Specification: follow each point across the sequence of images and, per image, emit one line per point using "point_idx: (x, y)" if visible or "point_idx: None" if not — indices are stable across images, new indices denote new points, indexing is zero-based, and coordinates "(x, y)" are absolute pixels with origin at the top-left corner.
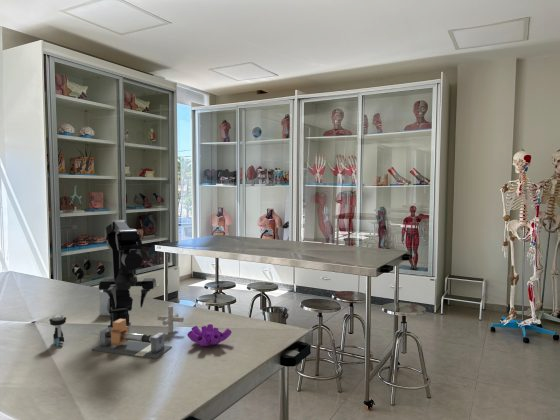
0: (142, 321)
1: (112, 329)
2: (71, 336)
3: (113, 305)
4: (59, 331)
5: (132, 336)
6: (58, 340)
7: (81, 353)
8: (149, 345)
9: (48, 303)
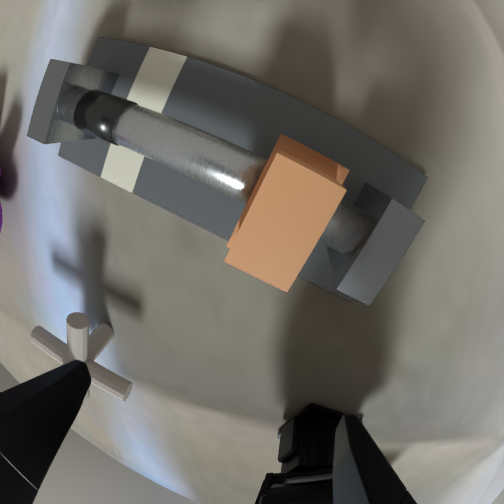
0: (240, 442)
1: (339, 182)
2: (483, 353)
3: (364, 432)
4: None
5: (185, 127)
6: None
7: (458, 145)
8: (137, 170)
9: (456, 499)
